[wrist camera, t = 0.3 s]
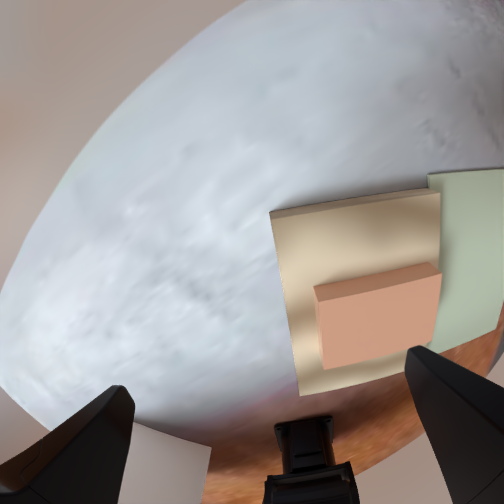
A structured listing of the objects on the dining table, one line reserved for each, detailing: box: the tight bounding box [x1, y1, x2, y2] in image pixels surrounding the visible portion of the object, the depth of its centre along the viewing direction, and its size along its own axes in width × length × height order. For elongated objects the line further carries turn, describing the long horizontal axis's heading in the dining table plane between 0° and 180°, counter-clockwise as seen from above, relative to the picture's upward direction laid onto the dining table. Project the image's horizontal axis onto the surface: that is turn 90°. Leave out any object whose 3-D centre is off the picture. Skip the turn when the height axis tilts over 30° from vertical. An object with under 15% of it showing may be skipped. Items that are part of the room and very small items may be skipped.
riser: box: [269, 188, 440, 396], centre depth 21 cm, size 16×12×2 cm
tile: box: [313, 262, 442, 370], centre depth 19 cm, size 6×9×2 cm, turn 101°
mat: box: [426, 169, 504, 354], centre depth 20 cm, size 18×12×1 cm, turn 11°
